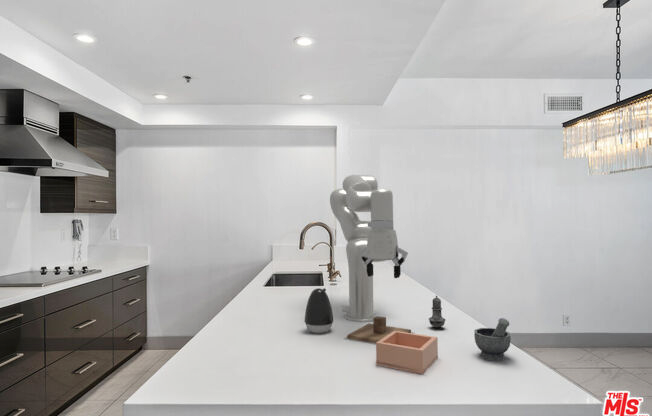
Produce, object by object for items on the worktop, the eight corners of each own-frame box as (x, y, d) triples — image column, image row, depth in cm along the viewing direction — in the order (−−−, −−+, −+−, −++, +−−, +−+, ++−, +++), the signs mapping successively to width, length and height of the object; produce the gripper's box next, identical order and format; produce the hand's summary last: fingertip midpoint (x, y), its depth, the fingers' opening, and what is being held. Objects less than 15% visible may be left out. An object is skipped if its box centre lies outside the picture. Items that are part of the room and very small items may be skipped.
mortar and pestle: (467, 352, 117) (466, 311, 117) (494, 349, 119) (494, 309, 119) (493, 366, 106) (492, 321, 106) (522, 363, 108) (521, 318, 108)
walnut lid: (347, 338, 131) (347, 320, 131) (368, 326, 144) (368, 310, 144) (393, 346, 122) (392, 326, 122) (411, 333, 136) (410, 315, 136)
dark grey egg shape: (338, 329, 143) (337, 286, 143) (326, 337, 133) (325, 292, 133) (312, 326, 147) (312, 285, 147) (299, 334, 137) (298, 289, 138)
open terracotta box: (376, 364, 108) (376, 342, 108) (394, 350, 119) (394, 330, 119) (423, 374, 101) (422, 350, 101) (437, 358, 112) (437, 337, 112)
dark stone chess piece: (446, 332, 138) (445, 297, 138) (429, 331, 139) (428, 296, 139) (445, 327, 143) (444, 293, 144) (428, 326, 144) (427, 293, 145)
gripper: (354, 226, 136) (355, 276, 135) (402, 225, 127) (403, 279, 126) (364, 226, 142) (365, 274, 142) (410, 225, 133) (412, 277, 132)
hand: (383, 276), depth 134 cm, fingers open, 9 cm apart
